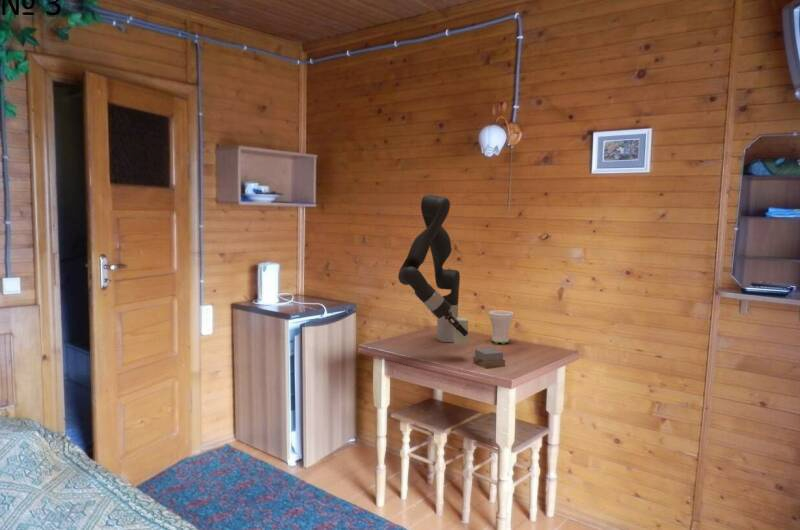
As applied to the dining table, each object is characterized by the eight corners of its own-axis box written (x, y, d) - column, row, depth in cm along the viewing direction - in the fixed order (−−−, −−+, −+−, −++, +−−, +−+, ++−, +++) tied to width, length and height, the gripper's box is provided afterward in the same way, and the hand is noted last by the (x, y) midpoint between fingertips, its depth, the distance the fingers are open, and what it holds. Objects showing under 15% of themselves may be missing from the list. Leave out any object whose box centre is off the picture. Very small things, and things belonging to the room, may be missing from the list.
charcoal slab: (474, 356, 233) (475, 349, 232) (491, 354, 236) (492, 347, 235) (485, 361, 225) (485, 354, 225) (502, 359, 228) (503, 352, 228)
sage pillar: (453, 341, 240) (454, 317, 238) (465, 341, 240) (465, 317, 239) (455, 344, 235) (456, 320, 233) (467, 344, 235) (468, 320, 234)
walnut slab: (472, 364, 233) (473, 356, 232) (490, 361, 237) (491, 354, 237) (486, 369, 225) (486, 362, 224) (504, 367, 229) (505, 359, 229)
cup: (494, 346, 260) (495, 315, 259) (484, 340, 271) (485, 310, 270) (516, 345, 263) (517, 314, 262) (505, 339, 274) (507, 309, 273)
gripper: (446, 301, 227) (475, 330, 230) (440, 294, 242) (468, 322, 244) (432, 314, 228) (461, 343, 230) (428, 307, 242) (455, 335, 244)
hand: (465, 332), depth 237 cm, fingers closed on sage pillar, 5 cm apart
